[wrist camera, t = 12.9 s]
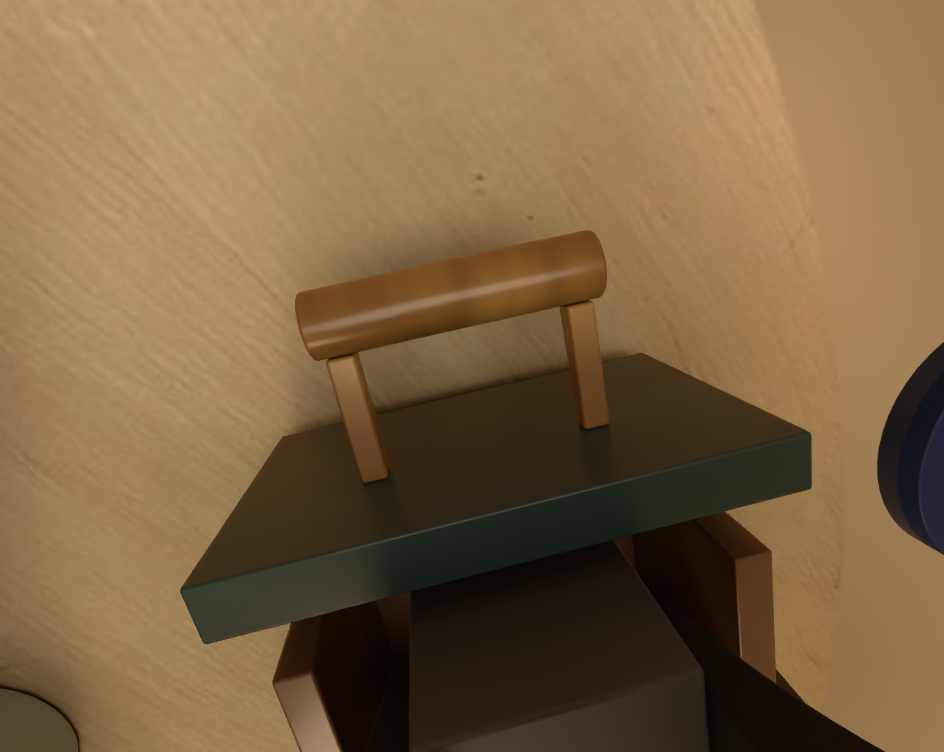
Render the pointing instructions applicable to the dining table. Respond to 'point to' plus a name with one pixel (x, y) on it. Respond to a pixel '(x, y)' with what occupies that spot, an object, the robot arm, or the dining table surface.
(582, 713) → the block
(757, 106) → the dining table surface
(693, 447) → the drawer
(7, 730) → the cup
